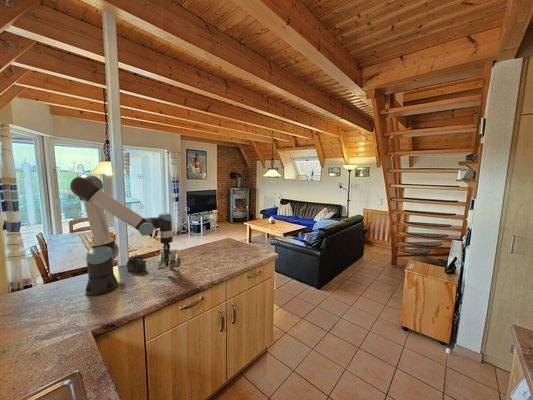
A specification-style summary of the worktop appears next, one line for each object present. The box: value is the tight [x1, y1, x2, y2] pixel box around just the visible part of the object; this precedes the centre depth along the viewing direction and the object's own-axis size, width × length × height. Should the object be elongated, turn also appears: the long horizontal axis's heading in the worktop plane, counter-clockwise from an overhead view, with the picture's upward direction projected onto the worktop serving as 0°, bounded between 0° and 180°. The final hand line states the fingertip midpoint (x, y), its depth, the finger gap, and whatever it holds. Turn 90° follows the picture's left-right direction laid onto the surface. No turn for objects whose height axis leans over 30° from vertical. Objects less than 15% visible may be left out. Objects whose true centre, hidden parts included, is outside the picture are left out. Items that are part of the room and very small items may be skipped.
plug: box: [163, 254, 175, 264], centre depth 170 cm, size 7×6×5 cm
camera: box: [126, 254, 147, 274], centre depth 159 cm, size 13×10×10 cm
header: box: [157, 248, 179, 270], centre depth 173 cm, size 20×13×7 cm, turn 21°
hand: (167, 267), depth 158 cm, fingers open, 13 cm apart
